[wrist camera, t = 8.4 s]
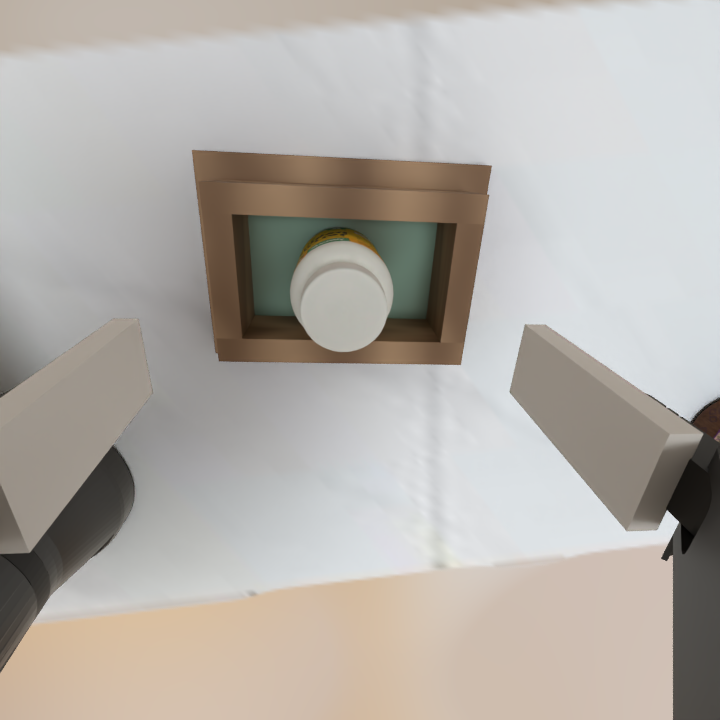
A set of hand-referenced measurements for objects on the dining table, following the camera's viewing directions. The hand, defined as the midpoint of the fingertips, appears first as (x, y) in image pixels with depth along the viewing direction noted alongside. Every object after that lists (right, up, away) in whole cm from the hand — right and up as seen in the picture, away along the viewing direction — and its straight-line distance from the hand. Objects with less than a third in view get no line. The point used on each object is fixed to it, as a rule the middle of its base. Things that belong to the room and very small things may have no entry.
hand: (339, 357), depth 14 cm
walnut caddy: (-1, +7, +14) cm, 15 cm away
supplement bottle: (-1, +6, +13) cm, 14 cm away
